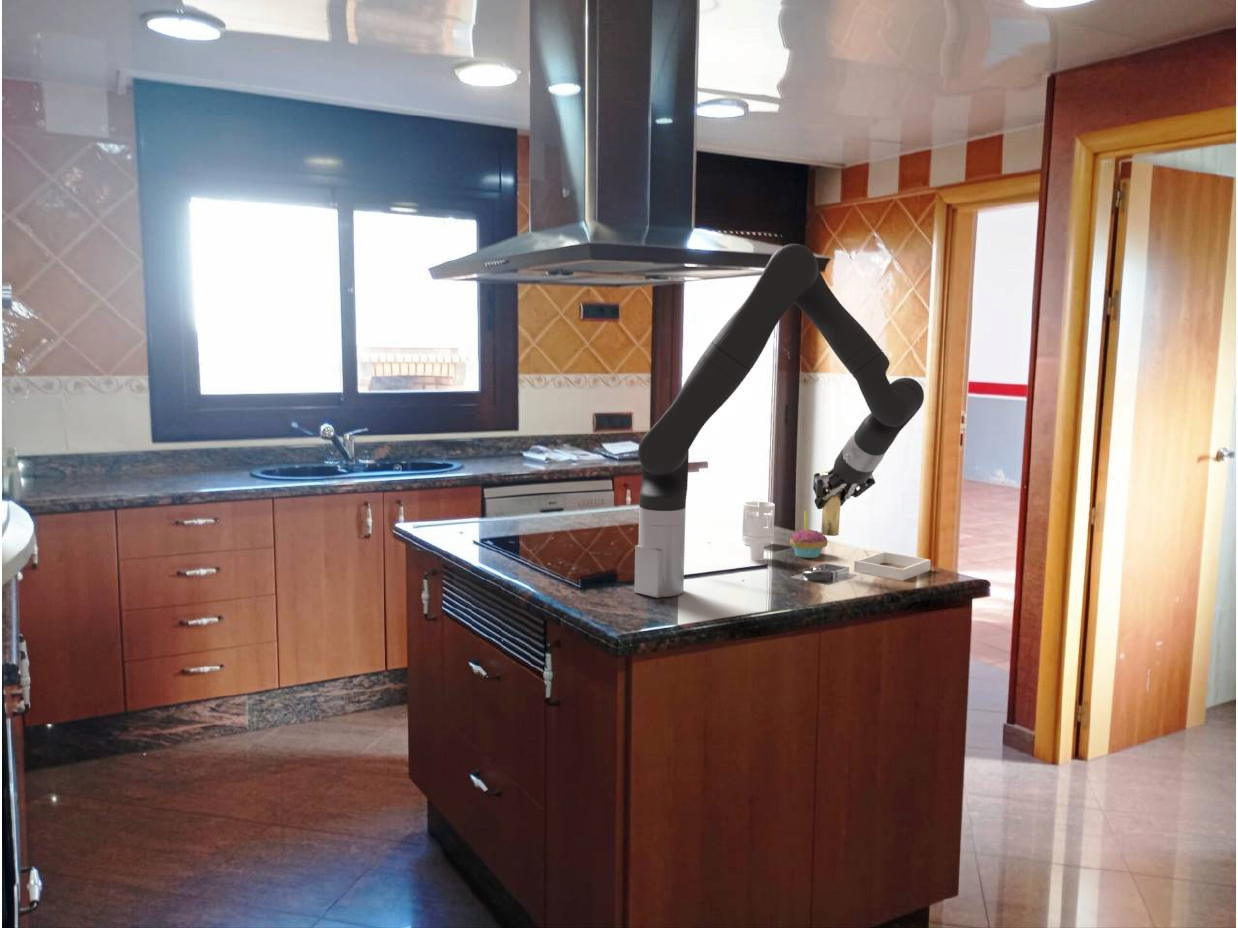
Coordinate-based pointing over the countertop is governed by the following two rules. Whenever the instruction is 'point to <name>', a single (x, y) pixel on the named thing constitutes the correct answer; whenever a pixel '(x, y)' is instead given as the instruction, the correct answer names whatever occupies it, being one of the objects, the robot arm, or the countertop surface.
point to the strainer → (757, 526)
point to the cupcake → (808, 541)
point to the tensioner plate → (835, 573)
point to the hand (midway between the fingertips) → (826, 505)
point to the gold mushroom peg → (831, 514)
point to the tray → (912, 567)
